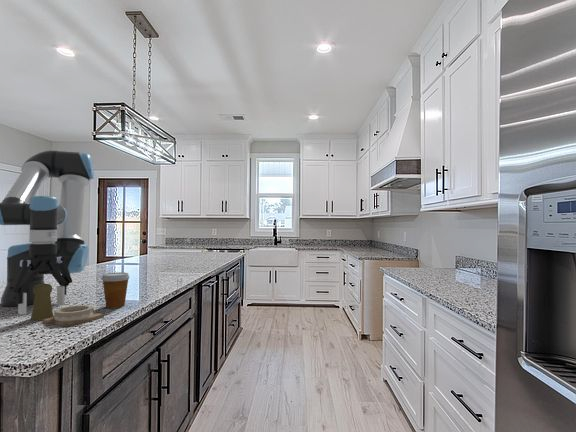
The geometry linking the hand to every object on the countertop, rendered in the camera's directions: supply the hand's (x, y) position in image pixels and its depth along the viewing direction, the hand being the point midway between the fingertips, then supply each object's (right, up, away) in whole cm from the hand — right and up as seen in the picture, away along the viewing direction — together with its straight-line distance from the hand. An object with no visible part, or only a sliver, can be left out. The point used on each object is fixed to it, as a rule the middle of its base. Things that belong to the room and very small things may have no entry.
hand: (42, 309), depth 115 cm
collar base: (+12, -3, -3) cm, 12 cm away
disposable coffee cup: (+16, -3, +16) cm, 23 cm away
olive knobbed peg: (0, -3, 0) cm, 3 cm away
